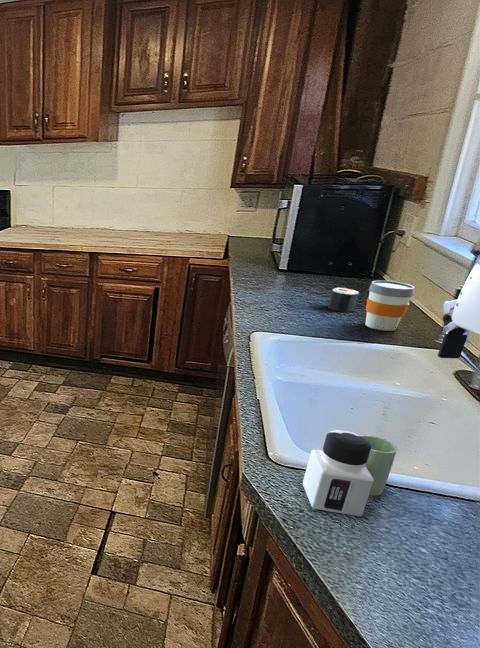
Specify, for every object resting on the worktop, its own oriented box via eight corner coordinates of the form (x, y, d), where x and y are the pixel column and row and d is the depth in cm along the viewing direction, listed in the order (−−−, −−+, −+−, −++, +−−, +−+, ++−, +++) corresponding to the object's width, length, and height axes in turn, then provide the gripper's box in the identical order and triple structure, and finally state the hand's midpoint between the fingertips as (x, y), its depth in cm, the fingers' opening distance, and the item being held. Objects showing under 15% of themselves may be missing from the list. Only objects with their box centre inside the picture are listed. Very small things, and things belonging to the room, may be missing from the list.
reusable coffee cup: (357, 319, 193) (369, 278, 187) (399, 324, 187) (412, 283, 182) (360, 328, 183) (373, 286, 177) (404, 334, 177) (418, 291, 171)
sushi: (344, 313, 199) (349, 292, 196) (323, 307, 206) (328, 287, 203) (358, 310, 202) (363, 290, 199) (337, 305, 209) (342, 285, 206)
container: (362, 517, 89) (384, 452, 84) (311, 509, 91) (330, 444, 86) (348, 491, 96) (368, 429, 91) (301, 483, 98) (318, 422, 93)
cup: (369, 476, 101) (383, 435, 97) (390, 496, 95) (405, 453, 92) (338, 475, 101) (350, 435, 97) (356, 495, 95) (370, 452, 92)
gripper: (601, 274, 68) (547, 394, 74) (490, 249, 84) (453, 349, 90) (541, 273, 68) (493, 393, 74) (442, 248, 84) (409, 348, 90)
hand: (471, 369), depth 82 cm, fingers open, 9 cm apart
